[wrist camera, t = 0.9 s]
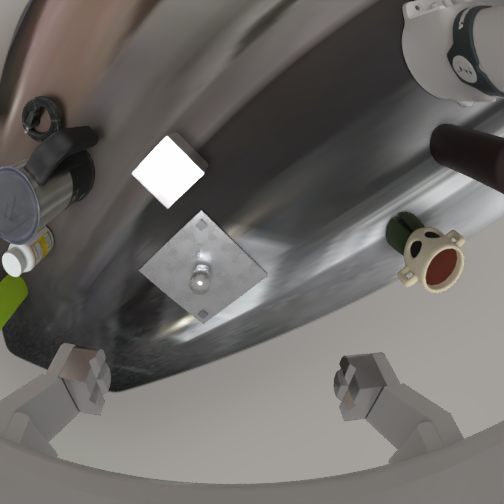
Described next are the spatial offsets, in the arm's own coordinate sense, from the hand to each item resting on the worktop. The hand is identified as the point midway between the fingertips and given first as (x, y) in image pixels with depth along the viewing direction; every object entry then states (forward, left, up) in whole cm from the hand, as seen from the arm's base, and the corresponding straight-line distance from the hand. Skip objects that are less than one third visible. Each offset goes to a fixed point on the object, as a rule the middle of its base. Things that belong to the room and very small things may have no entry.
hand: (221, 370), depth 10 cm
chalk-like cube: (+5, -5, -34) cm, 35 cm away
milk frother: (+16, -20, -34) cm, 43 cm away
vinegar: (-28, +18, -34) cm, 47 cm away
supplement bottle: (+30, -14, -34) cm, 48 cm away
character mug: (-14, +24, -34) cm, 44 cm away
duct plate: (+14, +9, -34) cm, 38 cm away
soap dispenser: (+44, -14, -34) cm, 58 cm away
